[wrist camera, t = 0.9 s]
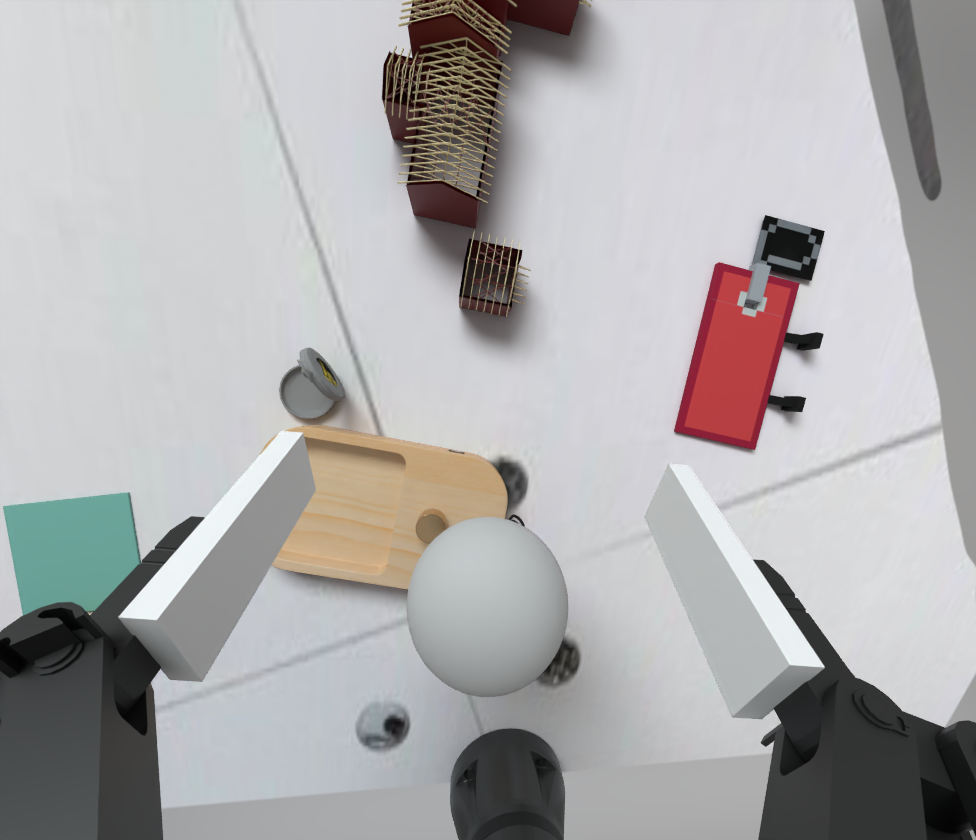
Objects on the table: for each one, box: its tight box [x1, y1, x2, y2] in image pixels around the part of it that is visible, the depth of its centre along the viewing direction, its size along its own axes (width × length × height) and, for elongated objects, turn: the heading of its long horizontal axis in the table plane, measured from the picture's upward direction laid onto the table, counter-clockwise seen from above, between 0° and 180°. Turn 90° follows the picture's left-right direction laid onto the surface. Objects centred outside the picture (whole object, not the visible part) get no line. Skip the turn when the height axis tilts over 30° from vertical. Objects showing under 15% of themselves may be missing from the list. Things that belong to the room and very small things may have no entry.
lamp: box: [260, 425, 568, 697], centre depth 35 cm, size 33×17×25 cm, turn 79°
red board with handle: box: [674, 215, 825, 450], centre depth 49 cm, size 30×3×15 cm
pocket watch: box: [279, 348, 344, 419], centre depth 41 cm, size 8×8×10 cm
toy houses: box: [382, 0, 592, 317], centre depth 41 cm, size 45×20×10 cm, turn 170°
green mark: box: [3, 493, 141, 616], centre depth 45 cm, size 14×14×1 cm
